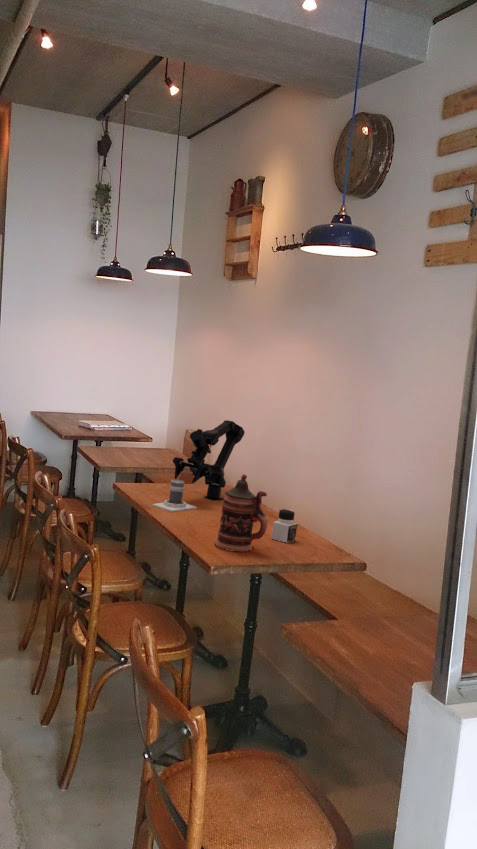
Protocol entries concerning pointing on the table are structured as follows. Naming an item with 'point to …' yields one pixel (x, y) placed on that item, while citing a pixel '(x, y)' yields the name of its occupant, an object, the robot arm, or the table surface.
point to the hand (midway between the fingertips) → (183, 480)
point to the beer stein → (240, 518)
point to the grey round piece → (176, 491)
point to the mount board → (160, 505)
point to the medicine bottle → (284, 526)
